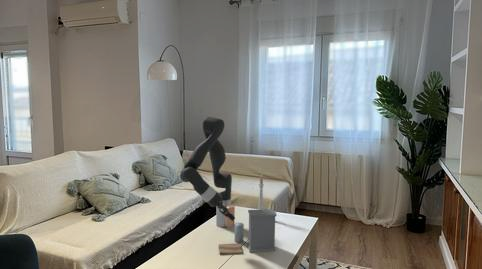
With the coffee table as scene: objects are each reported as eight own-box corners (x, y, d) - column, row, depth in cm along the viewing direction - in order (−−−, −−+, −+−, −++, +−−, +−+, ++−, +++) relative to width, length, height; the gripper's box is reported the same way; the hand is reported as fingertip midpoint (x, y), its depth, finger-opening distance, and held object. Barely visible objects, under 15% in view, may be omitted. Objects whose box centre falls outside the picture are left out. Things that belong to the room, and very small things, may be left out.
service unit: (247, 245, 189) (248, 209, 186) (272, 244, 190) (273, 209, 188) (249, 252, 181) (250, 215, 178) (275, 251, 182) (276, 214, 180)
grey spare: (234, 239, 196) (234, 222, 195) (242, 239, 197) (243, 222, 195) (235, 243, 191) (235, 226, 190) (243, 242, 192) (244, 225, 190)
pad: (218, 246, 187) (218, 244, 187) (240, 245, 189) (240, 243, 189) (219, 254, 178) (219, 252, 178) (242, 253, 179) (242, 251, 179)
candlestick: (264, 222, 222) (265, 177, 218) (247, 218, 229) (248, 174, 225) (273, 216, 233) (274, 173, 229) (257, 212, 240) (258, 171, 236)
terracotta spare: (224, 223, 184) (224, 205, 182) (233, 223, 184) (234, 205, 183) (225, 226, 179) (225, 208, 177) (234, 226, 179) (235, 208, 178)
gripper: (216, 195, 171) (240, 217, 174) (215, 187, 185) (237, 207, 188) (206, 205, 171) (229, 227, 174) (205, 196, 185) (227, 217, 188)
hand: (233, 217), depth 181 cm, fingers closed on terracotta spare, 5 cm apart
